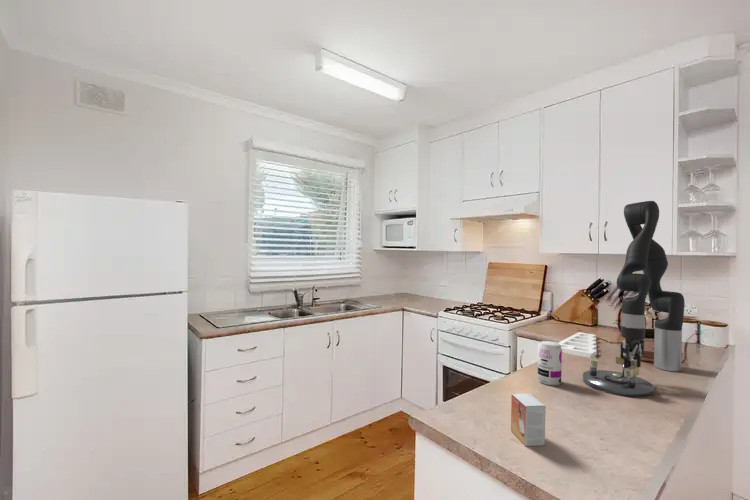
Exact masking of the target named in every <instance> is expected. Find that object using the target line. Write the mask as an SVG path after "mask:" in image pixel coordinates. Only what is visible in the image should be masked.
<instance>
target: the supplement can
mask: <svg viewBox="0 0 750 500" xmlns="http://www.w3.org/2000/svg"><path fill="white" fill-rule="evenodd" d="M562 354H563V353H562V348H561V346H560V344H559V342H557V341H552V340H551V341H550V340H541V341H539V343H538V345H537V380H538V381H539V383H542V384H544V385H545V386H547V385H548V386H553V387H555V386H560V384H561V383H562V372H563V371H562V369H563V368H562V363H563V362H562V357H563V355H562Z"/></svg>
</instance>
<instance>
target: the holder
mask: <svg viewBox="0 0 750 500" xmlns="http://www.w3.org/2000/svg"><path fill="white" fill-rule="evenodd" d="M558 343H559V344H560V346H561V348H562V352H564V353H563V354H569V355H573V356H578V357H584V358H589V359H590V356H595V357H597V355H598V350H597V349H598V348H597V334H594V333H586V332H579V331H578V332H576V333H574V334H572V335H570V336H569V337H566V338H564V339H563V340H561V341H559V342H558Z"/></svg>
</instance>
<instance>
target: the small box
mask: <svg viewBox="0 0 750 500" xmlns="http://www.w3.org/2000/svg"><path fill="white" fill-rule="evenodd" d="M510 406H511V407H510V409H511V410H510V412H511V413H510V431H511V432H512V433H513V435H515V437H516V438H517V439H518V440H519V441H520V442H521V443H522V445H523V446H524V447H534V446H536V447H537V446H540V447H541V446H545V444H546V443H545V442H546V413H547V412H546V409H547V408H546V407H547V406H546V405H545V404H543V403H542V402H541V401H540V400H539V399H537V398H536V397H534V396H533V395H532V394H531V393H512V394H511V405H510Z"/></svg>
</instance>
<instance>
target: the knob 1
mask: <svg viewBox="0 0 750 500" xmlns="http://www.w3.org/2000/svg"><path fill="white" fill-rule="evenodd" d="M597 370H598V358H597V356H590V358H589V371H590V375H591V376H597Z"/></svg>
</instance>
